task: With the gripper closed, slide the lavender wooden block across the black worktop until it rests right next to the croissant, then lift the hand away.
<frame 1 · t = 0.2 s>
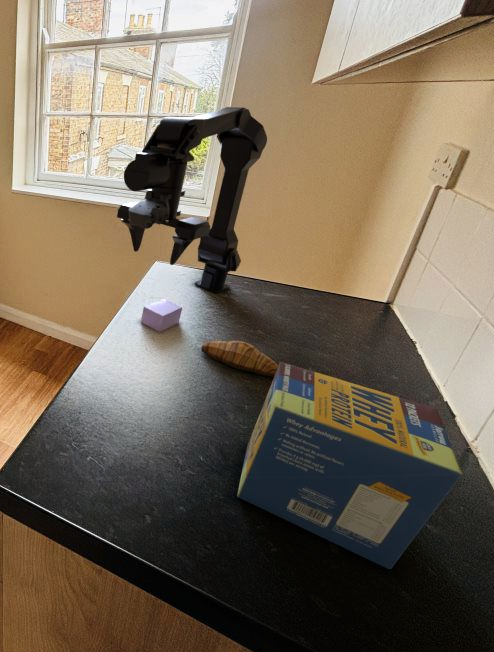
hand: (153, 257, 88), 14 cm above the worktop, tool pointing down, fingers open, 9 cm apart
protein box: (307, 500, 52), on the worktop
croissant: (237, 365, 77), on the worktop
block: (159, 322, 91), on the worktop
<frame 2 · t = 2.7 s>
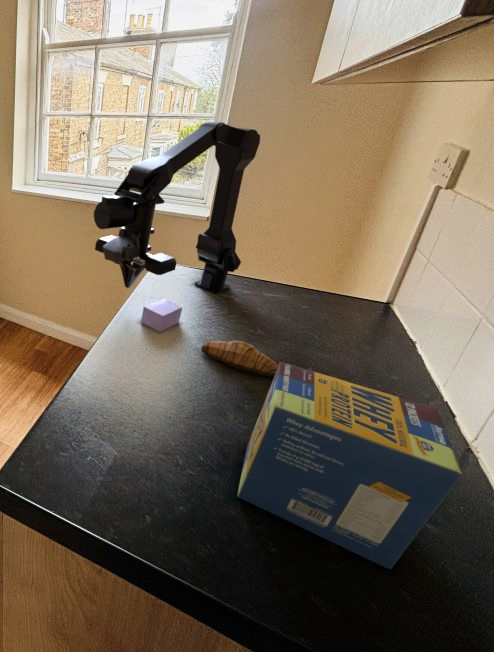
hand: (127, 287, 96), 5 cm above the worktop, tool pointing down, fingers closed
nothing on the worktop moved.
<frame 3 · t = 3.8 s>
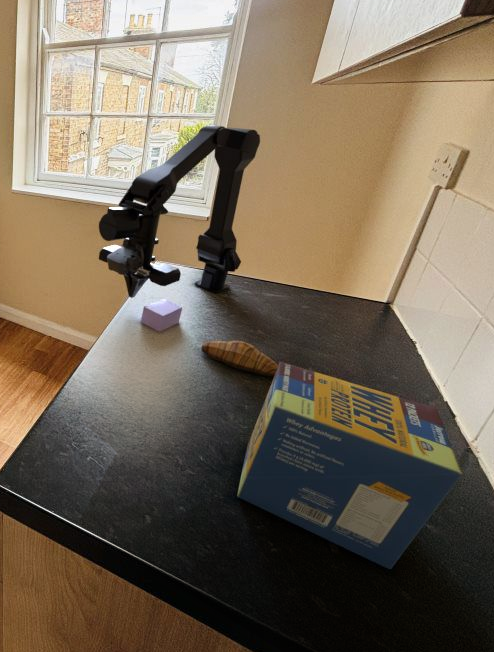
hand: (131, 297, 96), 3 cm above the worktop, tool pointing down, fingers closed
nothing on the worktop moved.
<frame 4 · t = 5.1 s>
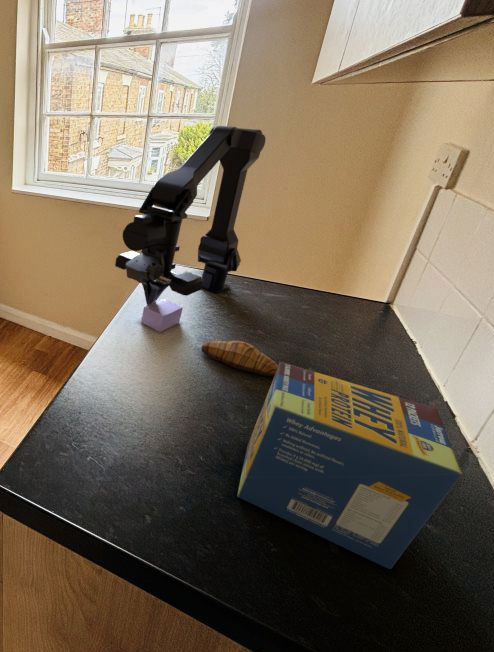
hand: (149, 305, 92), 3 cm above the worktop, tool pointing down, fingers closed
block: (160, 322, 91), on the worktop, touching gripper
everything else where it was.
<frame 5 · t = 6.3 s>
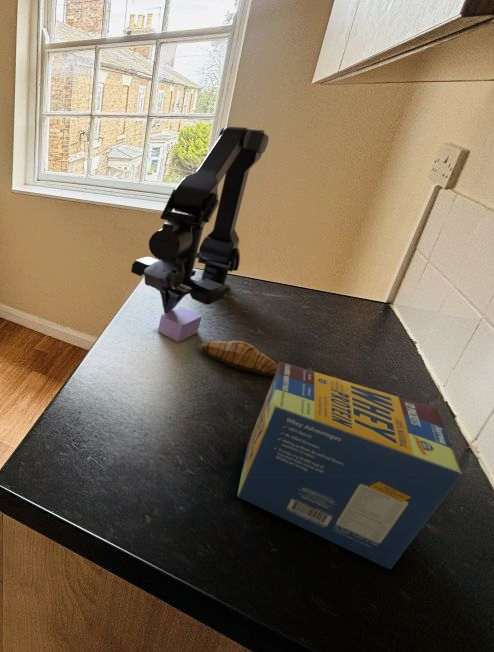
hand: (167, 313, 88), 3 cm above the worktop, tool pointing down, fingers closed
block: (177, 331, 87), on the worktop, touching gripper
everything else where it was.
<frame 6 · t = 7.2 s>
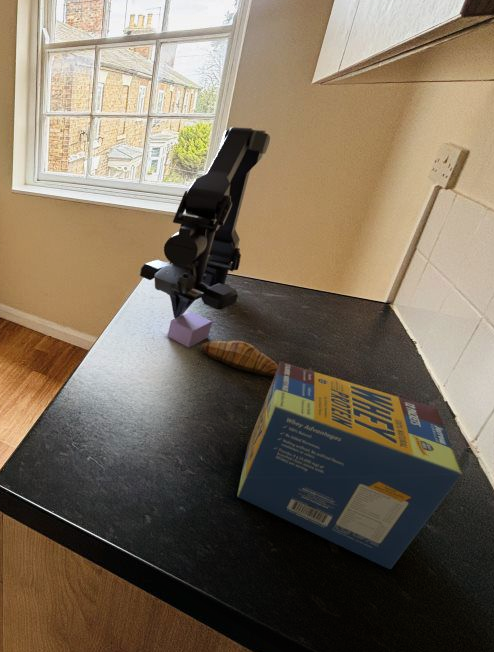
hand: (176, 318, 87), 3 cm above the worktop, tool pointing down, fingers closed
block: (187, 336, 85), on the worktop, touching gripper
everything else where it was.
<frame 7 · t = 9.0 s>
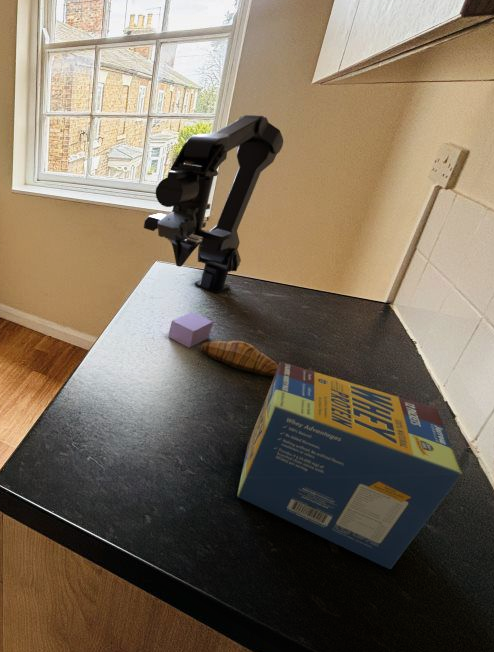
hand: (179, 266, 93), 11 cm above the worktop, tool pointing down, fingers closed
block: (188, 337, 85), on the worktop
everything else where it was.
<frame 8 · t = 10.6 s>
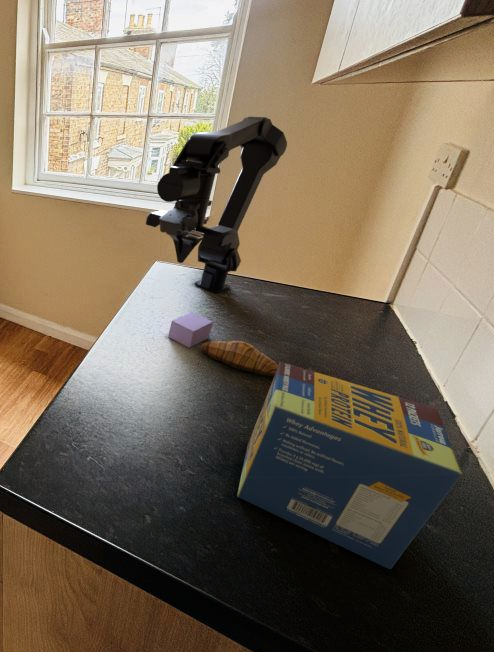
hand: (180, 262, 94), 11 cm above the worktop, tool pointing down, fingers closed
nothing on the worktop moved.
at the end: block 10.8 cm from the croissant (horizontally); block moved 7.2 cm from its start; croissant moved 0.2 cm from its start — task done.
